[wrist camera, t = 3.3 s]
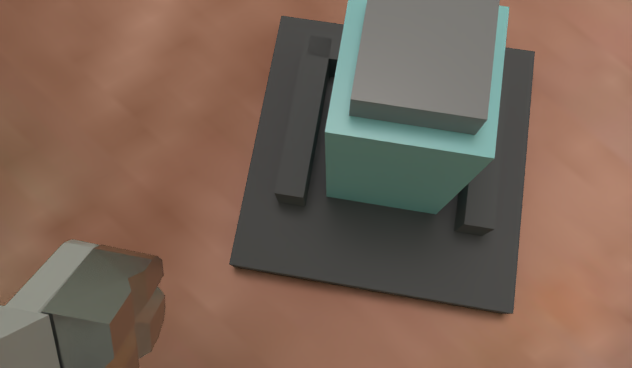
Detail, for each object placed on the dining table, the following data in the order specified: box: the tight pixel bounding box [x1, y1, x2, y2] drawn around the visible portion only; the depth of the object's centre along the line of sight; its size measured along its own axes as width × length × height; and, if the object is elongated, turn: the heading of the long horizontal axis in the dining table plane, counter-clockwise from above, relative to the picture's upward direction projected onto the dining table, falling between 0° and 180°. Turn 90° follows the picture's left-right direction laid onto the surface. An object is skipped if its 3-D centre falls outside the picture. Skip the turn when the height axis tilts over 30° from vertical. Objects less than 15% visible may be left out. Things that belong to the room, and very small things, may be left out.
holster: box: [229, 16, 535, 314], centre depth 19 cm, size 10×10×2 cm
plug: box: [325, 0, 509, 214], centre depth 16 cm, size 4×4×8 cm
